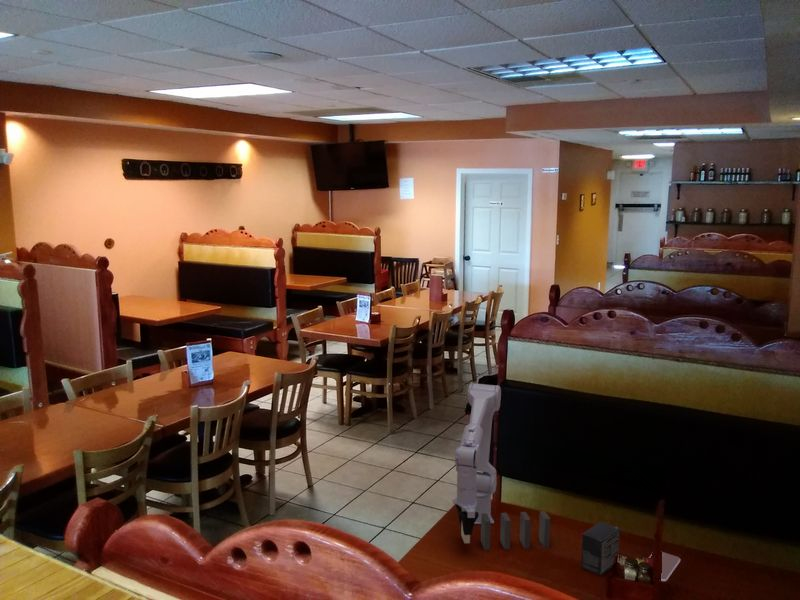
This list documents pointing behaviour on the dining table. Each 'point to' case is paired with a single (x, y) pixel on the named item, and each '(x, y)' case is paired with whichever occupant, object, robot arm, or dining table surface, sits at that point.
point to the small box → (600, 547)
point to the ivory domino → (465, 537)
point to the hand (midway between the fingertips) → (465, 529)
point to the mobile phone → (668, 565)
